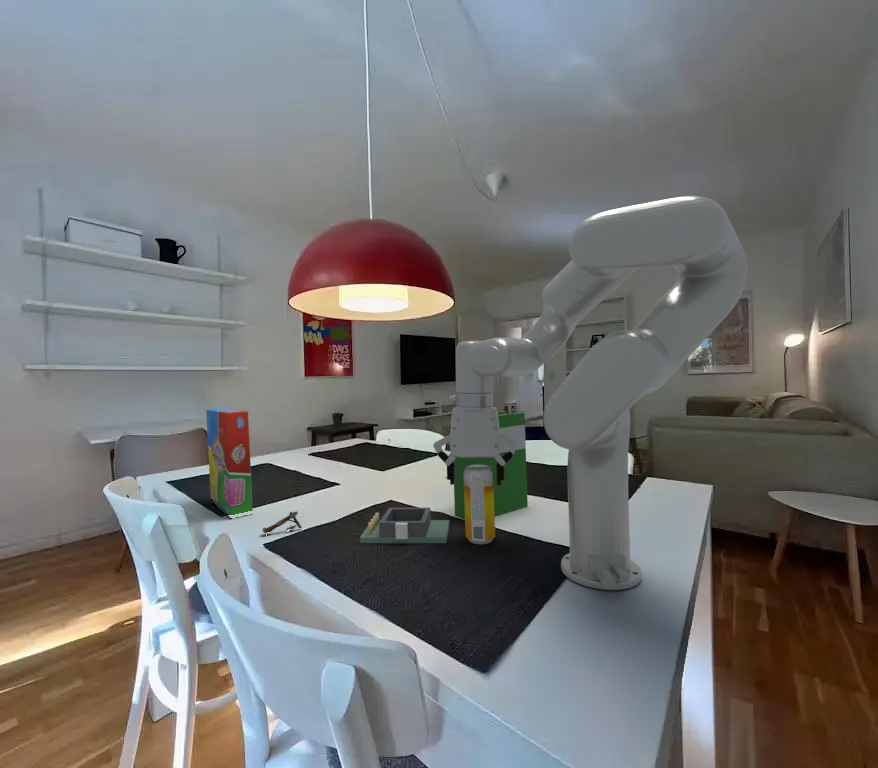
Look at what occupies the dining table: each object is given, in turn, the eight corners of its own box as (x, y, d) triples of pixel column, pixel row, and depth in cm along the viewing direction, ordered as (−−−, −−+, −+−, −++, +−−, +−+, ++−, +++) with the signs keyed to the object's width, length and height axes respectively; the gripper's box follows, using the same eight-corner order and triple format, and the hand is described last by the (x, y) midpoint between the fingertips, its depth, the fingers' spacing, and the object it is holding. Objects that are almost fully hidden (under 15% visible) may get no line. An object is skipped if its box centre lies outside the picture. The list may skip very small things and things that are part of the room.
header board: (445, 544, 84) (445, 524, 84) (358, 544, 85) (357, 524, 85) (449, 525, 94) (448, 507, 94) (372, 525, 96) (371, 507, 96)
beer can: (494, 533, 88) (492, 463, 88) (495, 545, 82) (493, 470, 82) (466, 533, 89) (463, 464, 89) (465, 545, 83) (462, 471, 83)
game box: (210, 503, 119) (205, 409, 119) (230, 498, 123) (226, 407, 122) (231, 520, 104) (225, 412, 103) (253, 514, 107) (248, 410, 107)
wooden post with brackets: (305, 526, 95) (296, 510, 94) (271, 546, 92) (261, 529, 92) (305, 524, 96) (295, 507, 96) (272, 543, 94) (262, 526, 93)
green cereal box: (507, 500, 111) (503, 411, 111) (527, 506, 105) (524, 412, 105) (454, 514, 101) (451, 417, 101) (474, 523, 95) (470, 419, 95)
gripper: (430, 403, 82) (432, 488, 83) (518, 402, 81) (519, 489, 81) (434, 400, 90) (435, 478, 91) (515, 399, 88) (515, 478, 89)
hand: (475, 483), depth 86 cm, fingers open, 9 cm apart
